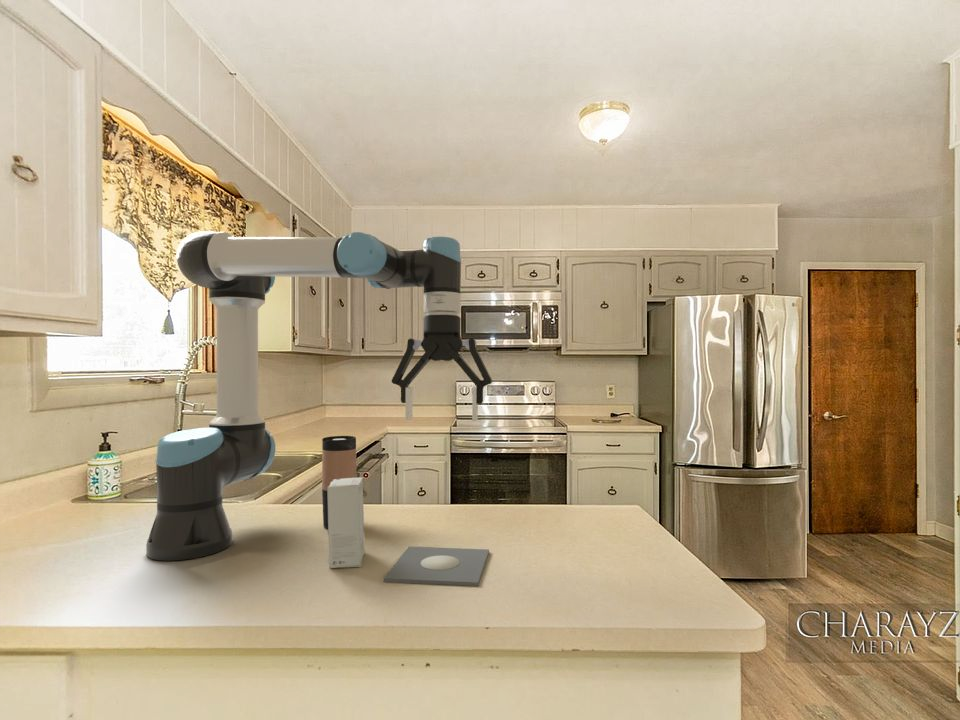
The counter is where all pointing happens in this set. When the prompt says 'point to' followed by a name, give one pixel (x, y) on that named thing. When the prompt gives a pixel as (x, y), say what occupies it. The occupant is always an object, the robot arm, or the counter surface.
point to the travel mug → (336, 464)
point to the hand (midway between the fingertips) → (441, 419)
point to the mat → (439, 566)
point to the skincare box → (346, 522)
